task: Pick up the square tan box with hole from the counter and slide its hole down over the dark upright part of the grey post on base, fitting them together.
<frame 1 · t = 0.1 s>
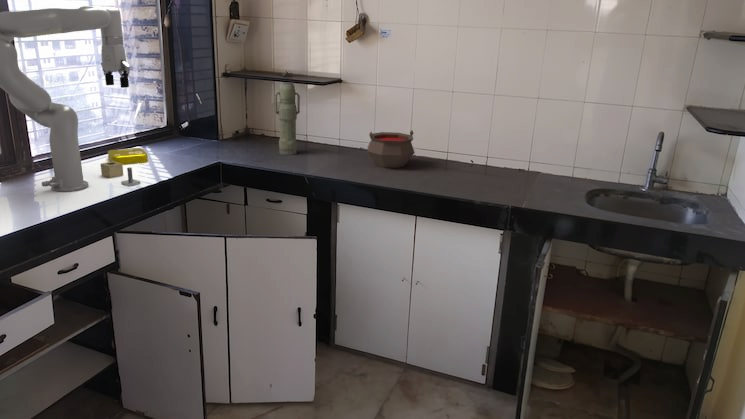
hand: (117, 86, 223), 37 cm above the counter, tool pointing down, fingers open, 9 cm apart
brown cauldron: (390, 164, 270), on the counter
grey post on base: (131, 183, 223), on the counter
element tile: (128, 161, 258), on the counter
tan box with hole: (112, 175, 233), on the counter
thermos: (288, 153, 284), on the counter
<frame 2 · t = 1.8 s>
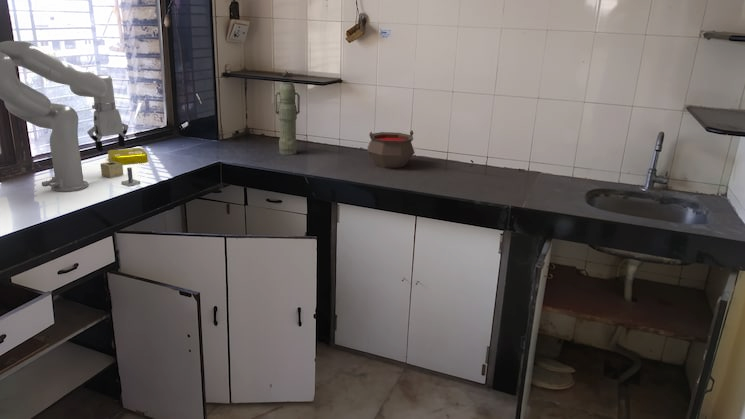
hand: (111, 148, 231), 11 cm above the counter, tool pointing down, fingers open, 9 cm apart
nothing on the counter moved.
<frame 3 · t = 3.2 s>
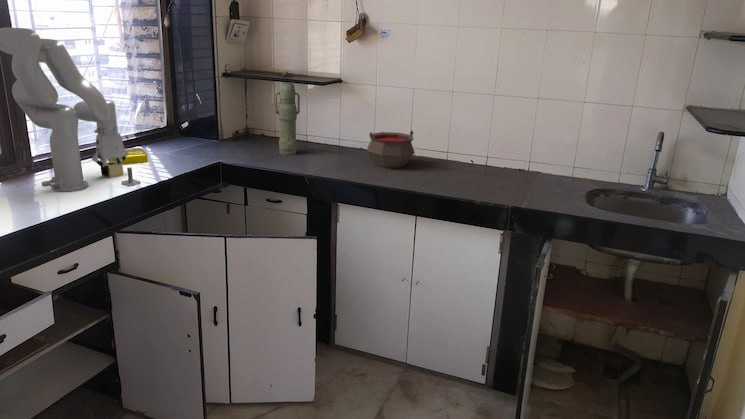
hand: (112, 173, 233), 1 cm above the counter, tool pointing down, fingers closed on tan box with hole, 6 cm apart
tan box with hole: (112, 175, 234), on the counter, touching gripper
everything else where it was.
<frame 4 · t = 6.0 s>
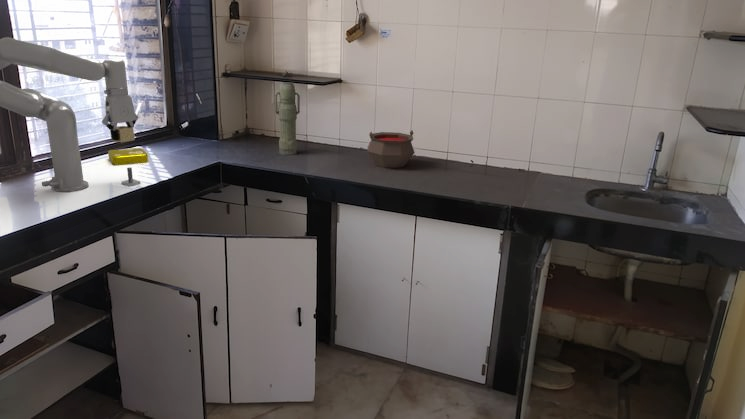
hand: (122, 138, 220), 18 cm above the counter, tool pointing down, fingers closed on tan box with hole, 6 cm apart
tan box with hole: (123, 140, 220), point 17 cm above the counter, touching gripper
everything else where it was.
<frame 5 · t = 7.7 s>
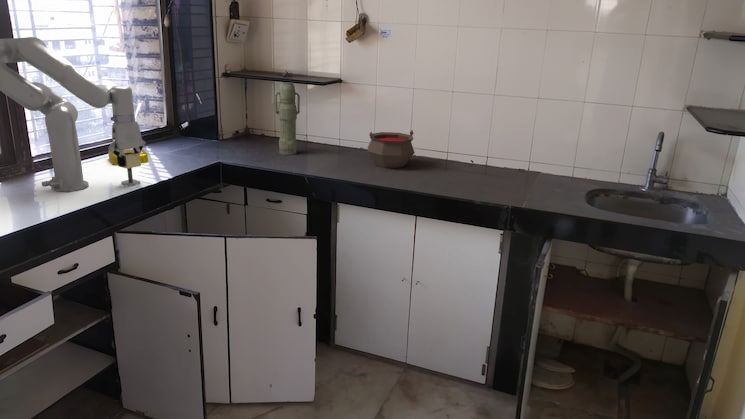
hand: (129, 164, 220), 8 cm above the counter, tool pointing down, fingers closed on tan box with hole, 6 cm apart
tan box with hole: (129, 166, 221), point 7 cm above the counter, touching gripper
everything else where it was.
when the fingers open (3 cm above the counter, at t = 9.1 s): tan box with hole drops 1 cm, resting on grey post on base.
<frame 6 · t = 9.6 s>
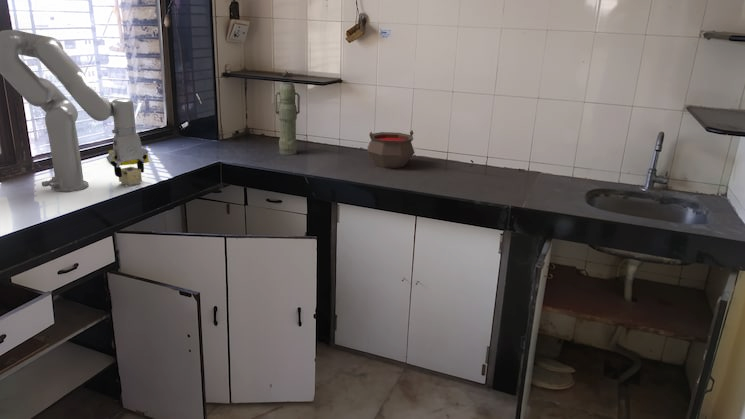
hand: (130, 174, 222), 4 cm above the counter, tool pointing down, fingers open, 9 cm apart
tan box with hole: (130, 181, 223), point 1 cm above the counter, touching grey post on base
everything else where it was.
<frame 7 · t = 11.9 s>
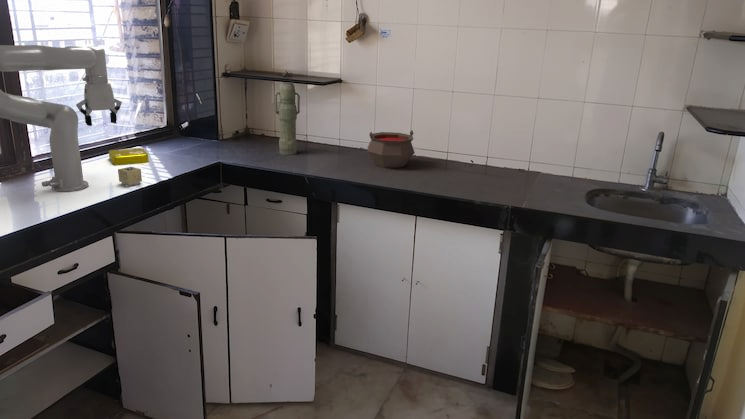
hand: (101, 124, 222), 22 cm above the counter, tool pointing down, fingers open, 9 cm apart
nothing on the counter moved.
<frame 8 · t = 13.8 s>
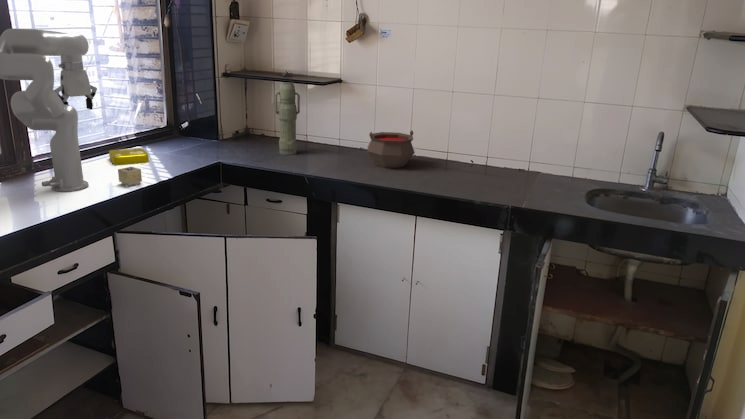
hand: (78, 110, 227), 26 cm above the counter, tool pointing down, fingers open, 9 cm apart
nothing on the counter moved.
at the end: tan box with hole 0.0 cm off-centre on the grey post on base, point 1.0 cm above the grey post on base's base; the gripper is holding nothing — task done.
